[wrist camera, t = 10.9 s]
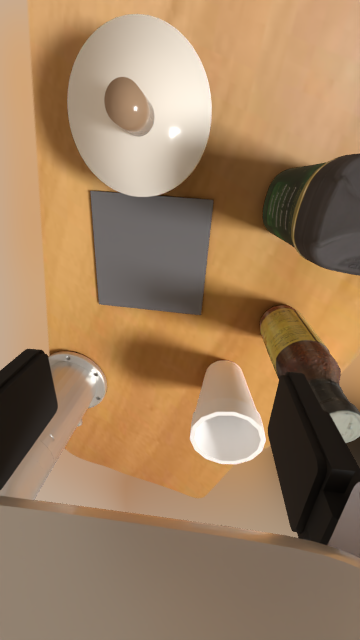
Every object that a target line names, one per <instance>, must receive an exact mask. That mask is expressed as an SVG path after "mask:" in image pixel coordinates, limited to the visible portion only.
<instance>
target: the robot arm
mask: <svg viewBox="0 0 360 640" xmlns="http://www.w3.org/2000/svg"><path fill="white" fill-rule="evenodd" d="M106 390H107V381H106V378H105V375H104V374H103V372H102V370H101V369H100V368H99V366H98V365H97V364H95V363H94V362H93V361H92V360H90V359H89V358H87V357H85V356H83V355H81V354H78V353H75V352H69V351H61V352H56V353H54V354H51V355H50V356H48V355H47V354H45V353H44V352H43V351H42V350H36V349H26V350H25V351H23V352H22V353H21V354H20V355H19V356H18V357H16V358H15V359H14V360H13V361H12V362H10V363H9V364H8V365H7V366H5V367H4V368H3V369H2V370H1V371H0V640H360V468H359V466H358V465H357V463H356V461H355V459H354V457H353V456H352V454H351V452H350V450H349V448H348V447H347V445H346V443H345V441H344V439H343V437H342V436H341V434H340V432H339V430H338V428H337V426H336V425H335V423H334V421H333V419H332V417H331V416H330V414H329V413H328V412H327V411H324V410H323V409H322V407H321V406H320V404H319V402H318V400H317V398H316V396H315V394H314V392H313V390H312V388H311V387H310V385H309V383H308V381H307V379H306V377H305V375H304V374H303V373H297V372H286V374H285V375H281V376H280V379H279V384H278V388H277V392H276V396H275V400H274V404H273V409H272V413H271V417H270V421H269V425H268V436H269V440H270V445H271V448H272V453H273V457H274V461H275V465H276V469H277V473H278V478H279V481H280V486H281V490H282V494H283V498H284V502H285V506H286V510H287V515H288V519H289V523H290V527H291V529H292V531H293V532H297V534H298V538H295V537H290V536H285V535H279V534H273V533H266V532H260V531H254V530H248V529H241V528H235V527H229V526H222V525H214V524H207V523H199V522H192V521H186V520H178V519H171V518H164V517H157V516H150V515H142V514H135V513H128V512H120V511H113V510H106V509H98V508H91V507H83V506H76V505H68V504H61V503H53V502H45V501H37V500H35V498H36V496H37V494H38V492H39V491H40V489H41V487H42V485H43V484H44V482H45V480H46V478H47V477H48V475H49V473H50V472H51V470H52V468H53V466H54V465H55V463H56V461H57V460H58V458H59V456H60V455H61V453H62V451H63V449H64V448H65V446H66V444H67V443H68V441H69V439H70V437H71V436H72V434H73V432H74V431H75V429H76V427H77V426H80V425H82V417H83V415H84V413H85V412H86V410H87V408H91V407H94V406H96V405H97V404H99V403H100V402H101V401H102V399H103V397H104V396H105V393H106Z"/></svg>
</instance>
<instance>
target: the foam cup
mask: <svg viewBox="0 0 360 640" xmlns="http://www.w3.org/2000/svg"><path fill="white" fill-rule="evenodd" d="M190 440H191V442H192V445H193V447H194V449H195V450H196V451H197V452H198V453H199V454H201V455H202V456H203V457H204V458H206V459H208V460H211V461H214V462H217V463H220V464H238V463H242V462H246V461H249V460H252V459H253V458H254V457H255V456H256V455H258V454H259V453H260V452H262V449H263V446H264V444H265V441H266V438H265V433H264V428H263V424H262V421H261V417H260V414H259V413H258V412H257V410H256V407H255V405H254V402H253V399H252V397H251V394H250V391H249V389H248V386H247V383H246V380H245V378H244V375H243V372H242V370H241V368H240V367H239V366H238V365H237V364H236V363H233V362H231V361H228V360H221V361H217V362H214V363H212V364H211V365H210V366H209V367H208V368H207V370H206V373H205V377H204V381H203V384H202V388H201V392H200V396H199V399H198V403H197V407H196V411H195V412H194V413H193V418H192V423H191V432H190Z"/></svg>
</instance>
